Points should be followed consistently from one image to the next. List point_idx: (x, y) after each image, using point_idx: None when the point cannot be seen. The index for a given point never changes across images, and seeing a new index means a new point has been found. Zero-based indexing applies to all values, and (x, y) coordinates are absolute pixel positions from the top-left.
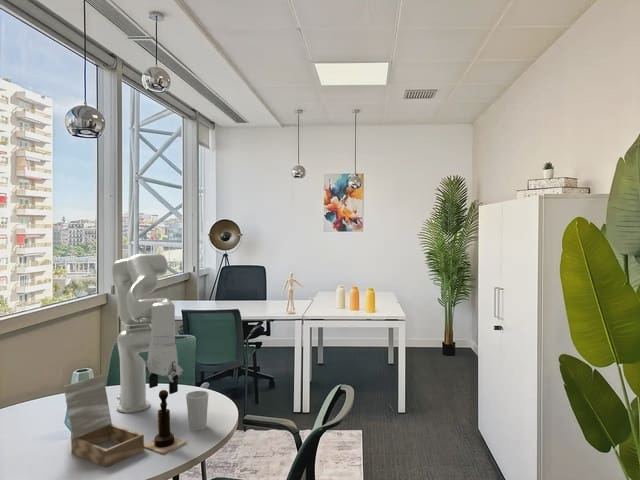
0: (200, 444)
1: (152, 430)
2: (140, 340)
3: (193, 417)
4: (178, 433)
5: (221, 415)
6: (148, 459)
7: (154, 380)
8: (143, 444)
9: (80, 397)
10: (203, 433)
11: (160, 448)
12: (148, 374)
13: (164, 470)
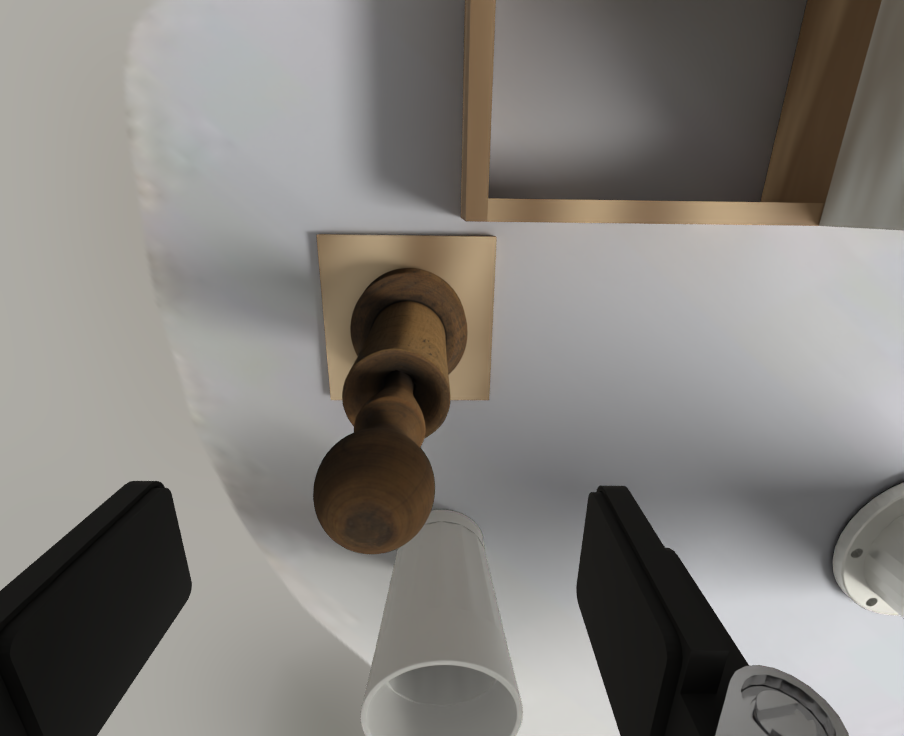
0: (263, 422)
1: (612, 409)
2: None
3: (422, 559)
4: (462, 452)
5: None
6: (337, 144)
7: (616, 631)
8: (462, 215)
9: None
10: None
11: (375, 266)
12: (808, 707)
13: (139, 94)
